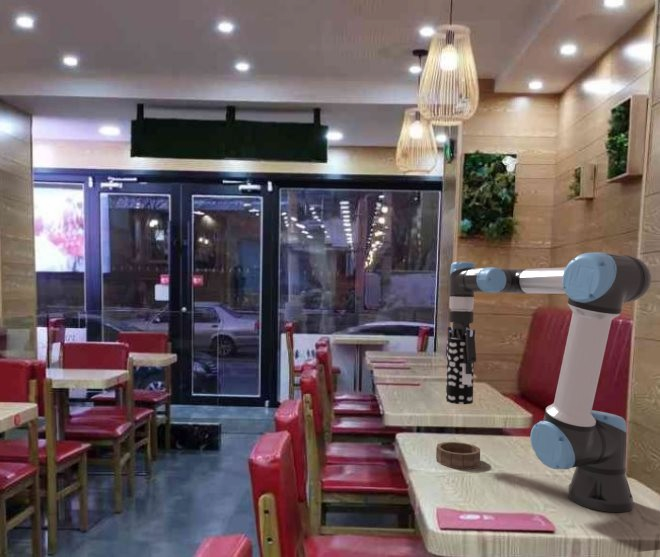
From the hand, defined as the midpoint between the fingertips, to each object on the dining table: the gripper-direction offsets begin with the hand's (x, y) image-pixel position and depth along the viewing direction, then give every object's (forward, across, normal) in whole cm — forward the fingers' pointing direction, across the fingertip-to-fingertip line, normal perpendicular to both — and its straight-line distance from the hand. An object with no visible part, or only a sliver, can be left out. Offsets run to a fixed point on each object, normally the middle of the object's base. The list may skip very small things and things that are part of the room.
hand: (459, 381), depth 171 cm
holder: (+25, 0, 0) cm, 25 cm away
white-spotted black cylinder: (+7, 0, 0) cm, 7 cm away
